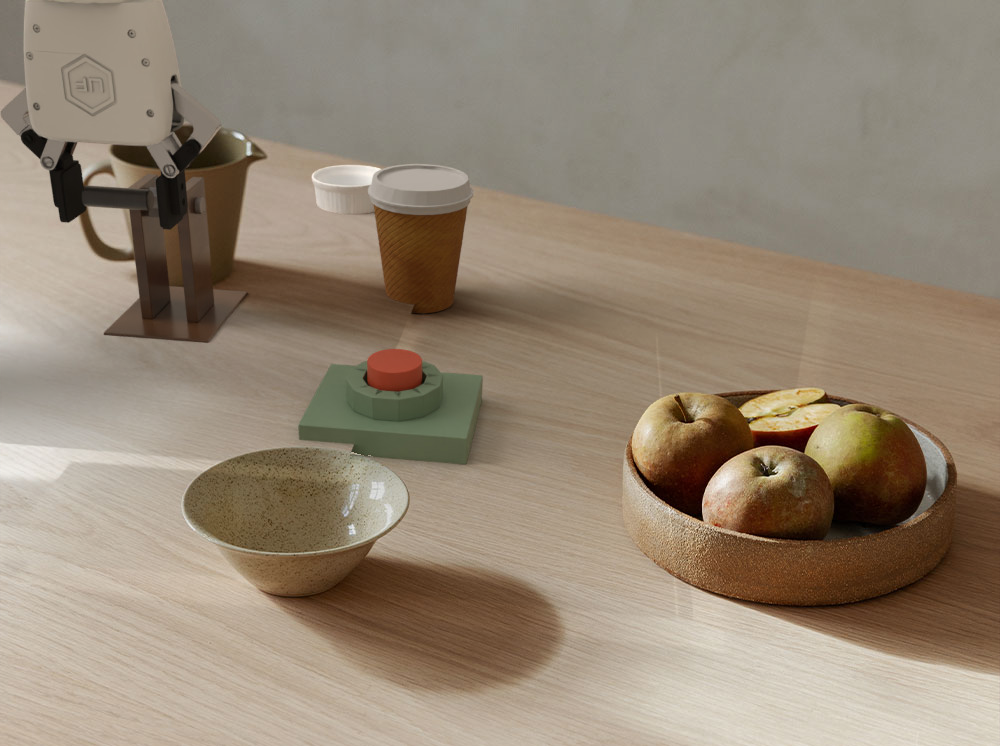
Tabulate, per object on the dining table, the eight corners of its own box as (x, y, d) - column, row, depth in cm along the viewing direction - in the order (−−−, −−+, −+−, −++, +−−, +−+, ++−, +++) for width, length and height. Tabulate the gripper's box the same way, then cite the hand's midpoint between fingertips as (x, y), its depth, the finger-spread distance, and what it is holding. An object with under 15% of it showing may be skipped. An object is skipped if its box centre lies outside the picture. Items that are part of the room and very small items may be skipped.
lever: (145, 215, 82) (146, 183, 82) (80, 211, 82) (81, 179, 82) (202, 220, 94) (203, 191, 94) (145, 216, 94) (146, 188, 94)
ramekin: (299, 217, 125) (297, 180, 123) (333, 195, 132) (332, 160, 130) (372, 227, 122) (371, 189, 121) (402, 205, 130) (402, 169, 128)
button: (362, 391, 79) (361, 370, 79) (373, 367, 83) (373, 346, 82) (417, 396, 79) (417, 374, 78) (426, 371, 83) (426, 350, 82)
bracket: (209, 353, 92) (196, 206, 87) (104, 345, 93) (85, 198, 87) (248, 303, 102) (239, 168, 96) (153, 296, 103) (139, 161, 97)
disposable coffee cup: (490, 299, 105) (494, 176, 100) (427, 329, 98) (428, 199, 93) (414, 274, 110) (414, 156, 105) (348, 302, 103) (345, 177, 98)
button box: (299, 451, 79) (296, 401, 77) (331, 388, 88) (330, 342, 86) (466, 465, 78) (467, 415, 76) (482, 399, 87) (483, 354, 85)
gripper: (-58, -26, 73) (-12, 228, 81) (198, -13, 72) (218, 244, 80) (-1, -38, 80) (36, 198, 88) (233, -26, 79) (249, 212, 87)
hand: (122, 218), depth 84 cm, fingers open, 7 cm apart
